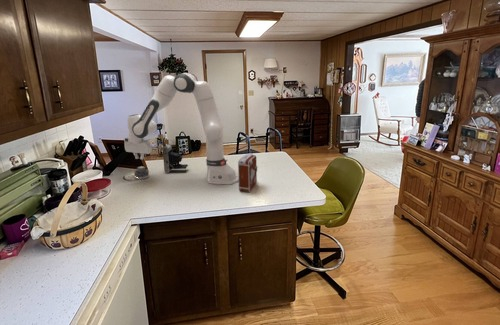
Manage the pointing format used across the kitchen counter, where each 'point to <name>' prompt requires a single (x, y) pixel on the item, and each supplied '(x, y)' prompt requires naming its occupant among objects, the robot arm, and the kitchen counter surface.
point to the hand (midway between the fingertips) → (139, 159)
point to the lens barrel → (142, 174)
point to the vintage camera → (172, 159)
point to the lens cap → (140, 169)
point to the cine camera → (247, 172)
